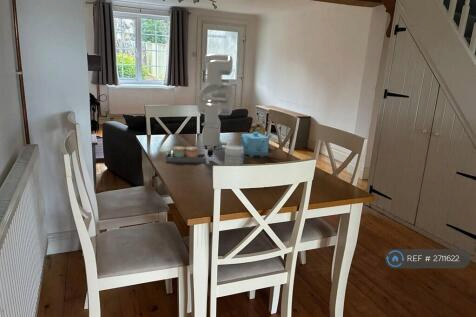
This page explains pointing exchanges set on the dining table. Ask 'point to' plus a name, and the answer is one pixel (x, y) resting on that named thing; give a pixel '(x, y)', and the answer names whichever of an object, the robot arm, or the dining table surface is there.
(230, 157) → the supplement tub
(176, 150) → the sage jar
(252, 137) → the teakettle
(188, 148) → the terracotta jar
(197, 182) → the dining table surface
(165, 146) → the dining table surface
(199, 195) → the dining table surface
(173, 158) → the tray
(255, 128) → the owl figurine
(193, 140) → the dining table surface
